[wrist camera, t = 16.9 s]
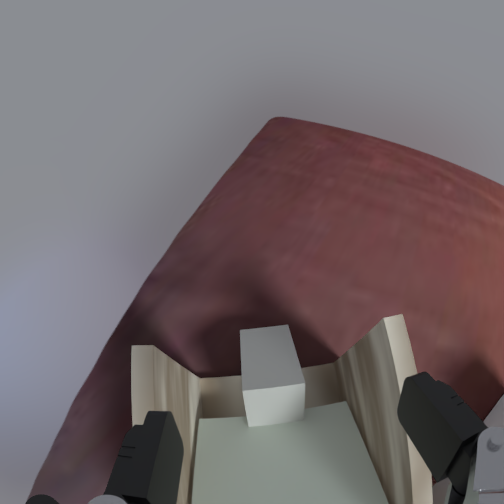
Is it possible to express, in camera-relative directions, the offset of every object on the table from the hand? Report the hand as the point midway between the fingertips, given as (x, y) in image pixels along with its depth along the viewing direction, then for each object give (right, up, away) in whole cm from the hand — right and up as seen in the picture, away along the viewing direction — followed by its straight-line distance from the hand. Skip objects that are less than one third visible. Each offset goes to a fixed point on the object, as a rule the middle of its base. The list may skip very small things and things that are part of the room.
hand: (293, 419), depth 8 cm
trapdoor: (+2, -18, +7) cm, 20 cm away
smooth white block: (+1, -7, +14) cm, 16 cm away
